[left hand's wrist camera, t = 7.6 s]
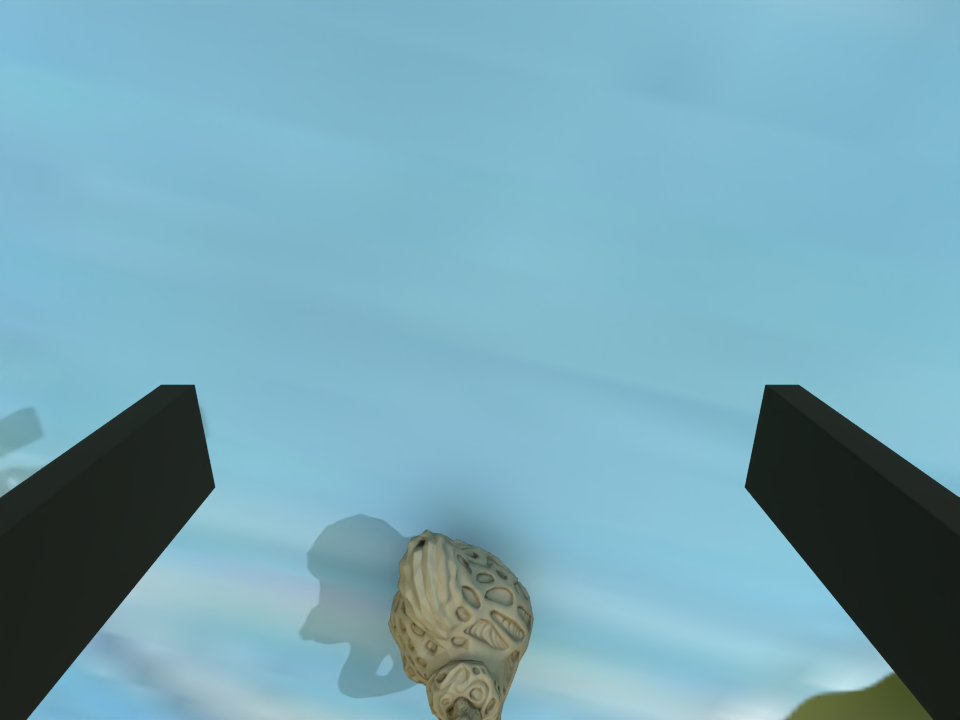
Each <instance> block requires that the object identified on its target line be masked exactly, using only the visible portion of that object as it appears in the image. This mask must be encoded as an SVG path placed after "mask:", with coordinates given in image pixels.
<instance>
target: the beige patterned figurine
mask: <svg viewBox="0 0 960 720" xmlns="http://www.w3.org/2000/svg"><path fill="white" fill-rule="evenodd" d="M399 569H400V578H399V582H398V588H399V591H398V592H397V593H396V595H395V596H394V599H393V603H392V609H391V616H390V620H389V622H388V624H389V628H390V631H391V634H392V636H393V638H394V639H395V641H396V643H397V644H398V646H399V648H400V651H401V656H402V661H403V667H404V671H405V673H406V675H407V676H408V677H409V678H410V679H411V680H413V681H415V682H416V683H421V684H424V685H425V686H426V690H427V697H428V701H429V706H430V709H431V711H432V714H433V715H435V716H436V717H437V718H438V719H439V720H501V712H502V708H503V704H504V701H505V699H506V696H507V694H508V691H509V689H510V686H511V684H512V681H513V678H514V676H515V673H516V671H517V667H518V664H519V661H520V660H521V658H522V656H523V655H524V653H525V651H526V649H527V647H528V643H529V639H530V636H531V631H532V625H533V620H534V619H533V614H532V608H531V602H530V597H529V595H528V593H527V590H526V589H525V588H524V587H523V585H522V584H521V583H520V582H517V581H518V578H517V577H516V576H515V575H514V574H513V573H512V572H511V571H510V569H509V568H507V567H506V566H505V565H504V564H503V563H502V562H501V560H500V559H499V558H497V557H495V556H494V555H492V554H490V553H488V552H486V551H484V550H482V549H481V548H479V547H475V546H472V545H469V544H466V543H464V542H462V541H460V540H455V541H452V540H451V539H450V538H448V537H447V536H445V535H442V534H437V533H433V532H431V531H429V530H426V531H424V532H423V533H422V534H421V535H419V536H416V537H414V538H412V539H411V541H410V542H408V549H407V552H406V554H405V555H404V557H403V558H402V560H401V561H400V563H399Z"/></svg>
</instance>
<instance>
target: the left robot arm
mask: <svg viewBox="0 0 960 720" xmlns="http://www.w3.org/2000/svg"><path fill="white" fill-rule="evenodd" d="M214 488H215V484H214V479H213V474H212V469H211V464H210V459H209V454H208V449H207V444H206V439H205V434H204V429H203V424H202V419H201V414H200V409H199V404H198V399H197V394H196V389H195V385H160V386H159V387H157V388H156V389H155V390H153V391H152V392H150V393H149V394H147V395H146V396H145V397H143V398H142V399H140V400H139V401H137V402H136V403H135V404H133V405H132V406H130V407H129V408H127V409H126V410H125V411H123V412H122V413H120V414H119V415H117V416H116V417H115V418H113V419H112V420H110V421H109V422H108V423H106V424H105V425H103V426H102V427H100V428H99V429H98V430H96V431H95V432H93V433H92V434H90V435H89V436H88V437H86V438H85V439H83V440H82V441H80V442H79V443H78V444H76V445H75V446H73V447H72V448H70V449H69V450H68V451H66V452H65V453H63V454H62V455H60V456H59V457H58V458H56V459H55V460H53V461H52V462H51V463H49V464H48V465H46V466H45V467H43V468H42V469H41V470H39V471H38V472H36V473H35V474H33V475H32V476H31V477H29V478H28V479H26V480H25V481H23V482H22V483H21V484H19V485H18V486H16V487H15V488H13V489H12V490H11V491H9V492H8V493H6V494H5V495H3V496H2V497H1V498H0V720H27V719H28V717H29V716H30V715H31V714H32V712H33V711H34V710H35V709H36V707H37V706H38V705H39V704H40V702H41V701H42V700H43V699H44V698H45V696H46V695H47V694H48V693H49V691H50V690H51V689H52V688H53V686H54V685H55V684H56V683H57V682H58V680H59V679H60V678H61V677H62V675H63V674H64V673H65V672H66V670H67V669H68V668H69V667H70V666H71V664H72V663H73V662H74V661H75V659H76V658H77V657H78V656H79V654H80V653H81V652H82V651H83V650H84V648H85V647H86V646H87V645H88V643H89V642H90V641H91V640H92V638H93V637H94V636H95V635H96V634H97V632H98V631H99V630H100V629H101V627H102V626H103V625H104V624H105V622H106V621H107V620H108V619H109V618H110V616H111V615H112V614H113V613H114V611H115V610H116V609H117V608H118V606H119V605H120V604H121V603H122V601H123V600H124V599H125V598H126V597H127V595H128V594H129V593H130V592H131V590H132V589H133V588H134V587H135V585H136V584H137V583H138V582H139V581H140V579H141V578H142V577H143V576H144V574H145V573H146V572H147V571H148V569H149V568H150V567H151V566H152V565H153V563H154V562H155V561H156V560H157V558H158V557H159V556H160V555H161V553H162V552H163V551H164V550H165V549H166V547H167V546H168V545H169V544H170V542H171V541H172V540H173V539H174V537H175V536H176V535H177V534H178V533H179V531H180V530H181V529H182V528H183V526H184V525H185V524H186V523H187V521H188V520H189V519H190V518H191V517H192V515H193V514H194V513H195V512H196V510H197V509H198V508H199V507H200V505H201V504H202V503H203V502H204V500H205V499H206V498H207V497H208V496H209V494H210V493H211V492H212V491H213V489H214ZM745 488H746V489H747V491H748V492H749V493H750V494H751V496H752V497H753V498H754V499H755V500H756V502H757V503H758V504H759V505H760V507H761V508H762V509H763V510H764V512H765V513H766V514H767V515H768V517H769V518H770V519H771V520H772V521H773V523H774V524H775V525H776V526H777V528H778V529H779V530H780V531H781V533H782V534H783V535H784V536H785V537H786V539H787V540H788V541H789V542H790V544H791V545H792V546H793V547H794V549H795V550H796V551H797V552H798V553H799V555H800V556H801V557H802V558H803V560H804V561H805V562H806V563H807V565H808V566H809V567H810V568H811V569H812V571H813V572H814V573H815V574H816V576H817V577H818V578H819V579H820V581H821V582H822V583H823V584H824V585H825V587H826V588H827V589H828V590H829V592H830V593H831V594H832V595H833V597H834V598H835V599H836V600H837V601H838V603H839V604H840V605H841V606H842V608H843V609H844V610H845V611H846V613H847V614H848V615H849V616H850V618H851V619H852V620H853V621H854V622H855V624H856V625H857V626H858V627H859V629H860V630H861V631H862V632H863V634H864V635H865V636H866V637H867V638H868V640H869V641H870V642H871V643H872V645H873V646H874V647H875V648H876V650H877V651H878V652H879V653H880V654H881V656H882V657H883V658H884V659H885V661H886V662H887V663H888V664H889V666H890V667H891V668H892V669H893V670H894V672H895V673H896V674H897V675H898V677H899V678H900V679H901V680H902V682H903V683H904V684H905V685H906V686H907V688H908V689H909V690H910V691H911V693H912V694H913V695H914V696H915V697H916V699H917V700H918V701H919V702H920V704H921V705H922V706H923V707H924V709H925V710H926V711H927V712H928V714H929V715H930V716H931V717H932V719H933V720H960V497H958V496H957V495H955V494H954V493H952V492H951V491H949V490H948V489H947V488H945V487H944V486H942V485H941V484H939V483H938V482H937V481H935V480H934V479H932V478H931V477H929V476H928V475H927V474H925V473H924V472H922V471H921V470H919V469H918V468H917V467H915V466H914V465H912V464H911V463H909V462H908V461H907V460H905V459H904V458H902V457H901V456H900V455H898V454H897V453H895V452H894V451H892V450H891V449H890V448H888V447H887V446H885V445H884V444H882V443H881V442H880V441H878V440H877V439H875V438H874V437H872V436H871V435H870V434H868V433H867V432H865V431H864V430H862V429H861V428H860V427H858V426H857V425H855V424H854V423H852V422H851V421H850V420H848V419H847V418H845V417H844V416H843V415H841V414H840V413H838V412H837V411H835V410H834V409H833V408H831V407H830V406H828V405H827V404H825V403H824V402H823V401H821V400H820V399H818V398H817V397H815V396H814V395H813V394H811V393H810V392H808V391H807V390H805V389H804V388H803V387H801V386H800V385H765V389H764V394H763V399H762V404H761V409H760V414H759V419H758V424H757V429H756V434H755V439H754V444H753V449H752V454H751V459H750V464H749V469H748V474H747V479H746V484H745Z"/></svg>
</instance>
